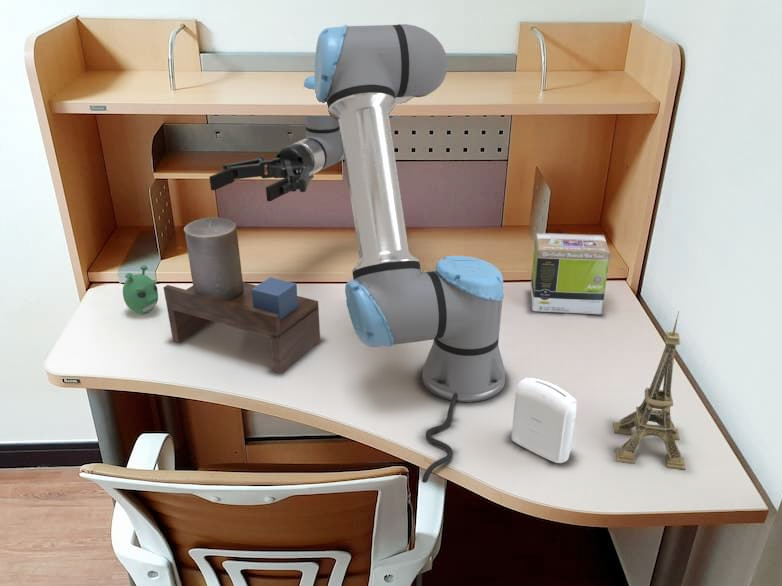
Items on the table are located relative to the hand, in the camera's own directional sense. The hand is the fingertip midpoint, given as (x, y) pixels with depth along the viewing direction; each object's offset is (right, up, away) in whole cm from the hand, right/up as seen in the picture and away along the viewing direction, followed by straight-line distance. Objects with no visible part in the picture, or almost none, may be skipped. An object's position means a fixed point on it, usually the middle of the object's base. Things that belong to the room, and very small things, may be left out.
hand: (239, 188), depth 148 cm
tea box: (+68, -21, +19) cm, 73 cm away
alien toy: (-23, -23, +14) cm, 36 cm away
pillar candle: (-5, -20, +3) cm, 21 cm away
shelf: (+1, -30, +4) cm, 30 cm away
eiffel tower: (+72, -48, -23) cm, 90 cm away
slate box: (+8, -24, -4) cm, 26 cm away
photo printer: (+54, -49, -24) cm, 77 cm away
